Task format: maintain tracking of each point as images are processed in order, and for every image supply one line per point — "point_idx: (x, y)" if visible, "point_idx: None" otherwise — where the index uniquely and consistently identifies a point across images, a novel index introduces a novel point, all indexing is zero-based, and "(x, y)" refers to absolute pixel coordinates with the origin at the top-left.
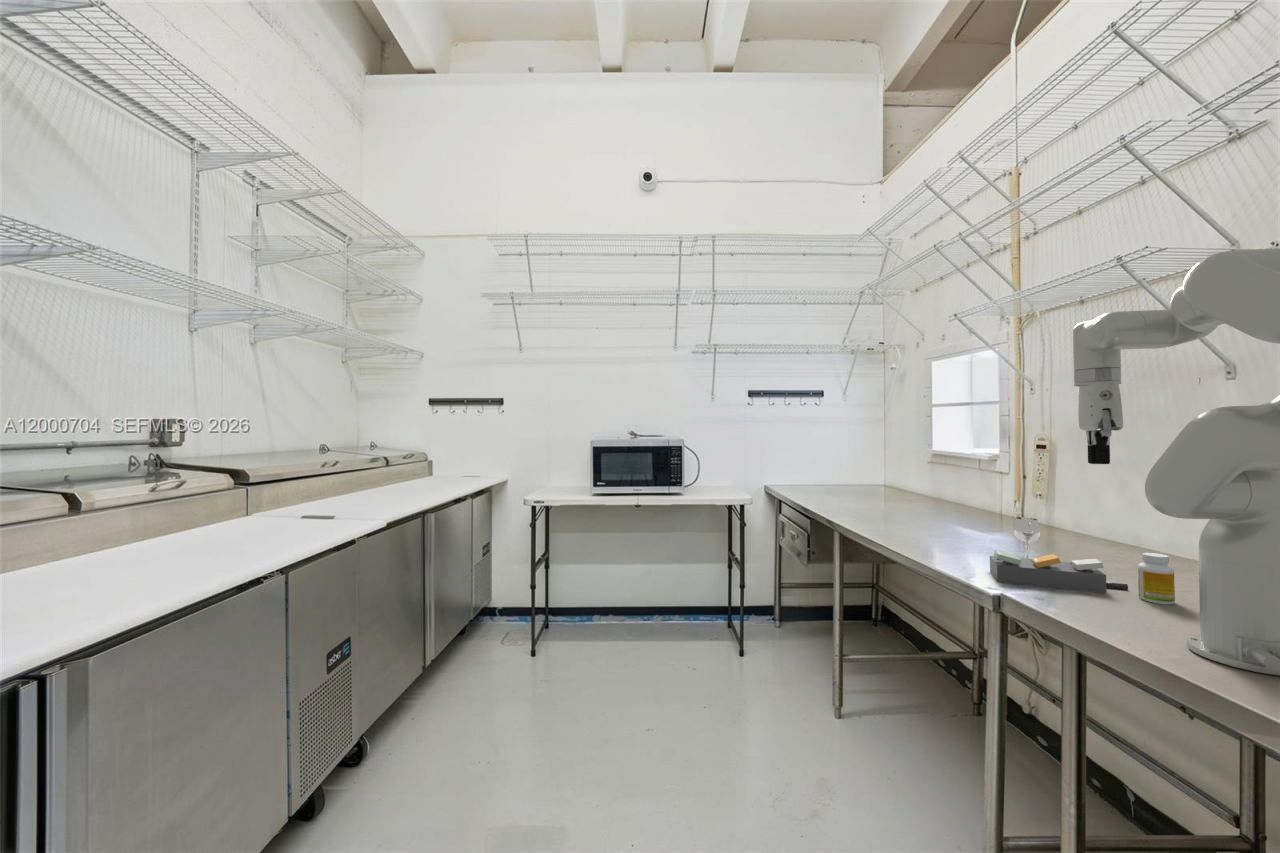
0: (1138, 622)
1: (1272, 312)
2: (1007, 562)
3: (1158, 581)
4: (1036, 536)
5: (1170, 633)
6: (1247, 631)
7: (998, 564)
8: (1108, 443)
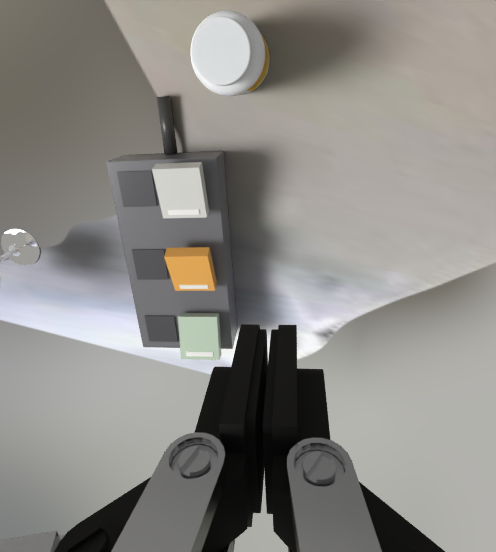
0: (432, 153)
1: None
2: None
3: (266, 62)
4: None
5: (489, 117)
6: None
7: (223, 345)
8: (347, 464)
